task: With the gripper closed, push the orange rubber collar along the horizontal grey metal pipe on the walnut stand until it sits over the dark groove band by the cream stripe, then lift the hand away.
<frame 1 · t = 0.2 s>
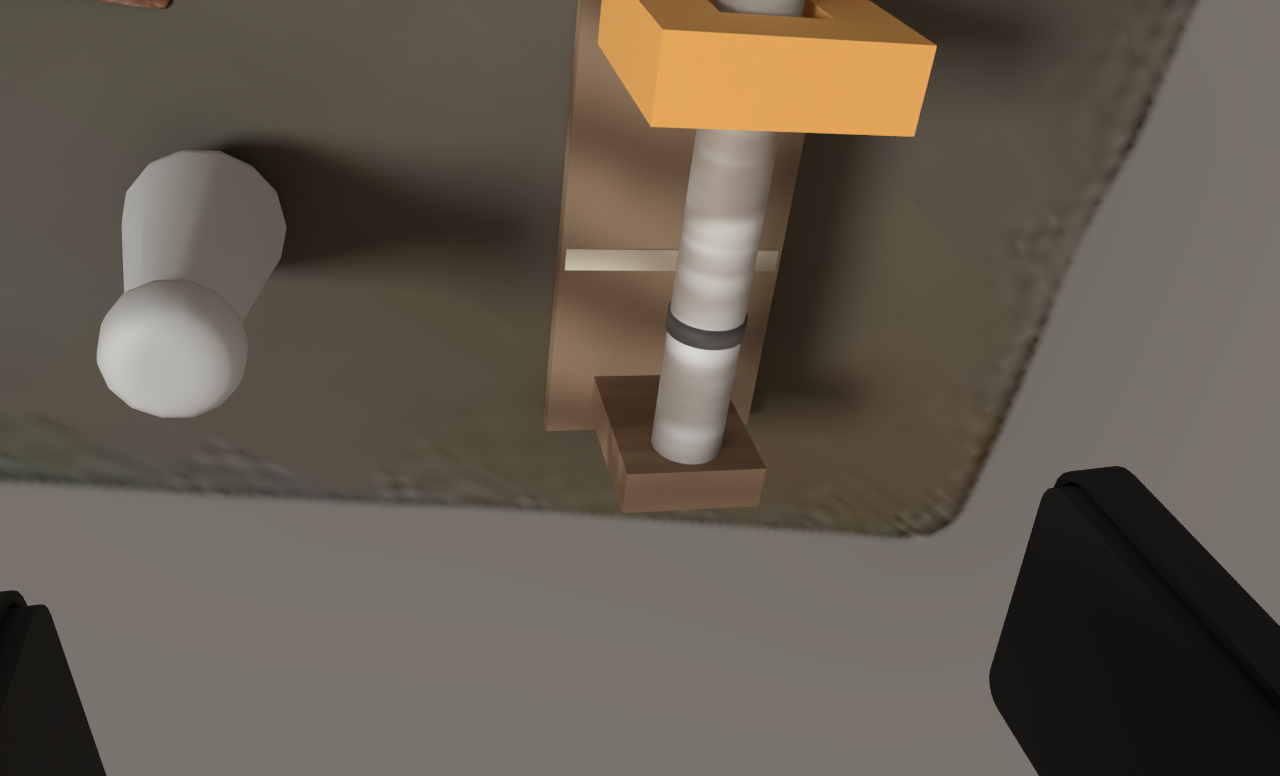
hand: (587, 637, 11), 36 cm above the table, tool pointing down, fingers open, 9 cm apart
salt shaker: (212, 197, 44), on the table
collar: (752, 44, 38), point 6 cm above the table, slide at 0.0 cm
pipe stand: (683, 142, 47), on the table
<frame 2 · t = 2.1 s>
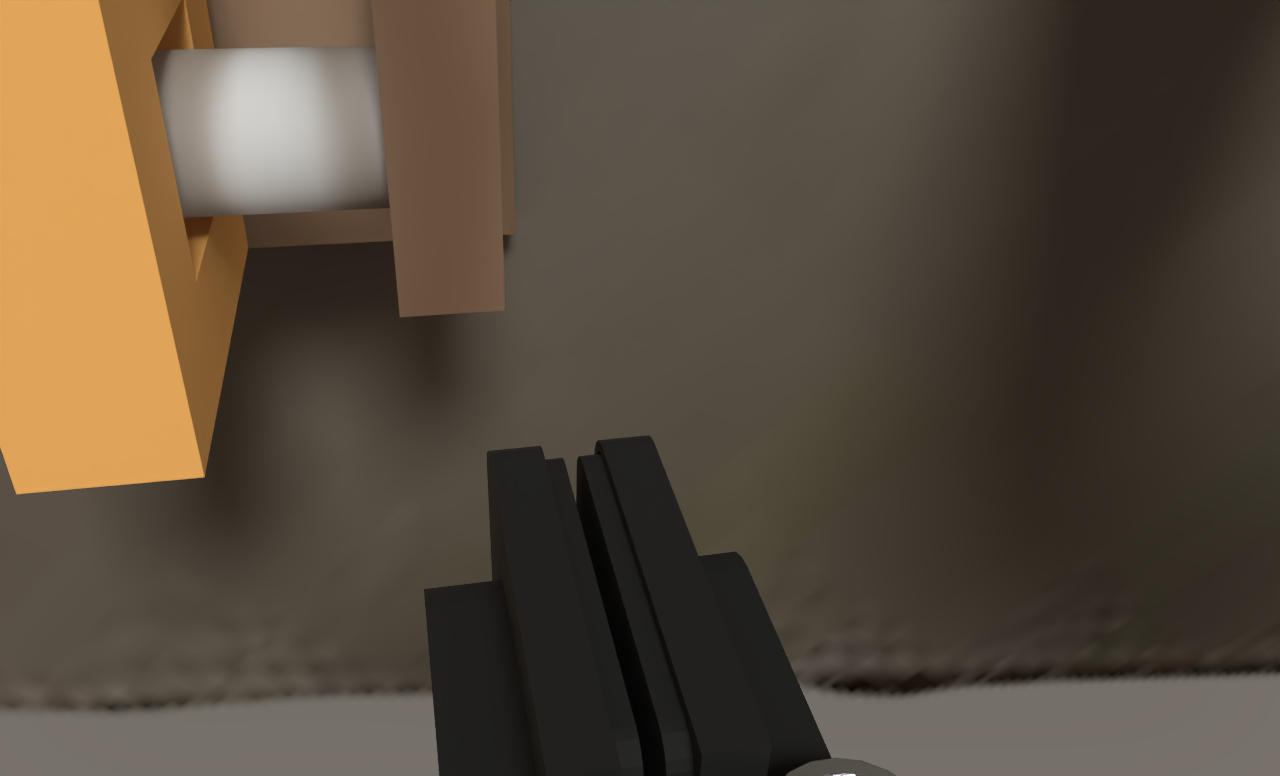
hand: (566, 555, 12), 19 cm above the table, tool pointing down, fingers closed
collar: (102, 137, 20), point 6 cm above the table, slide at 0.0 cm
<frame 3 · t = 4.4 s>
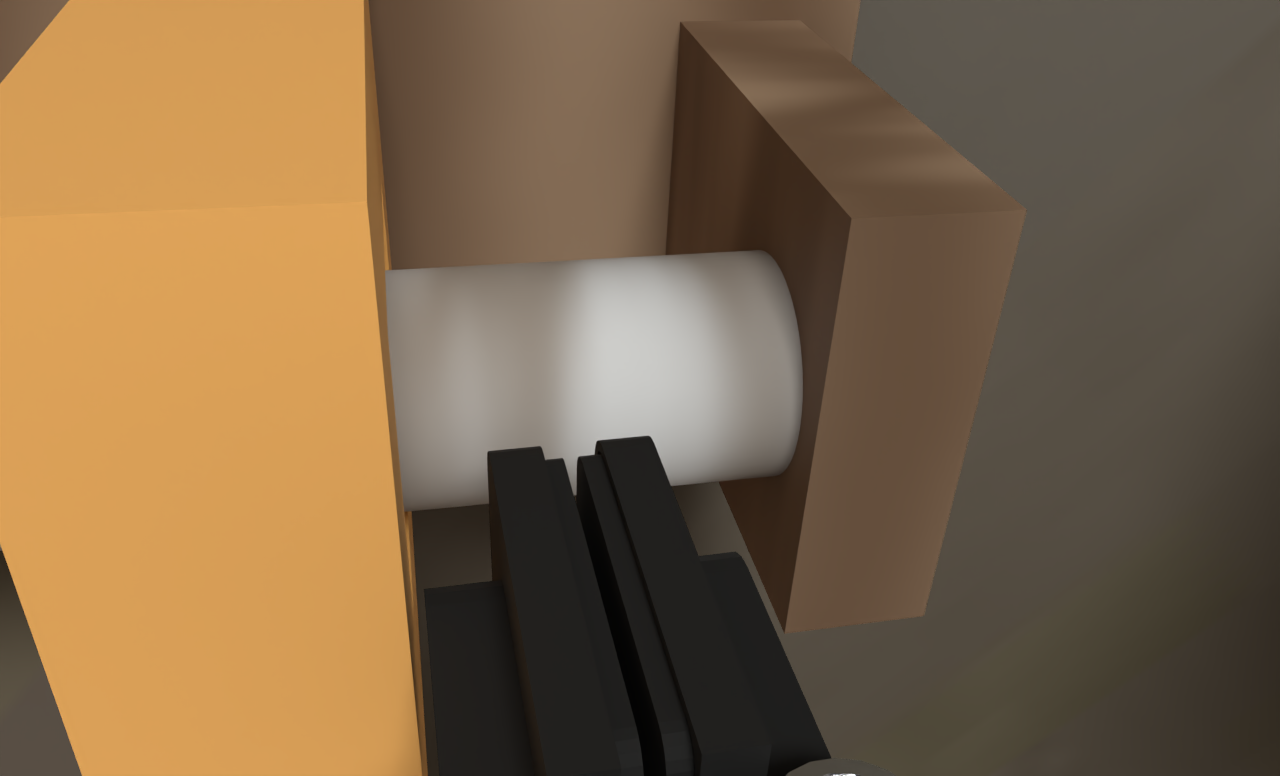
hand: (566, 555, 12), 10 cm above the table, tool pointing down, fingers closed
collar: (271, 400, 14), point 7 cm above the table, slide at 1.3 cm, touching gripper
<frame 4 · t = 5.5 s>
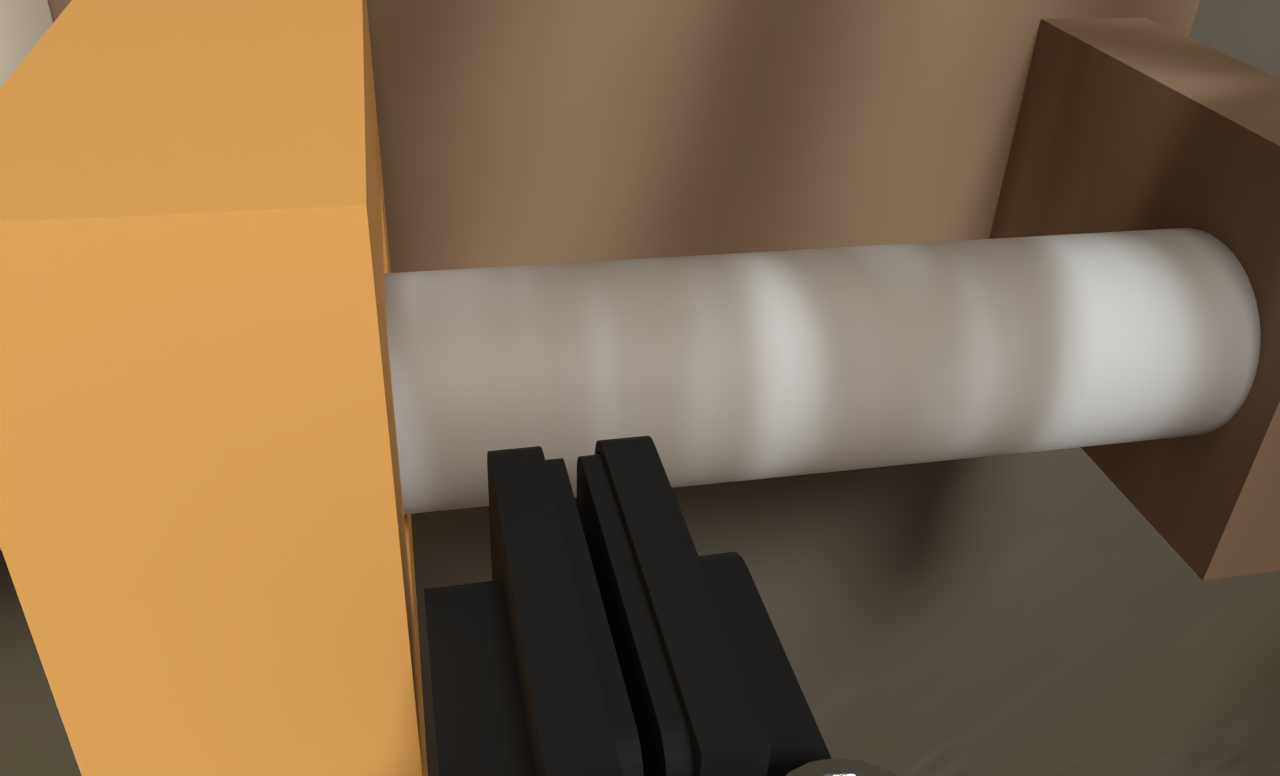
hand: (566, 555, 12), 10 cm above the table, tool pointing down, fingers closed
collar: (270, 403, 14), point 7 cm above the table, slide at 7.7 cm, touching gripper
pipe stand: (393, 188, 19), on the table
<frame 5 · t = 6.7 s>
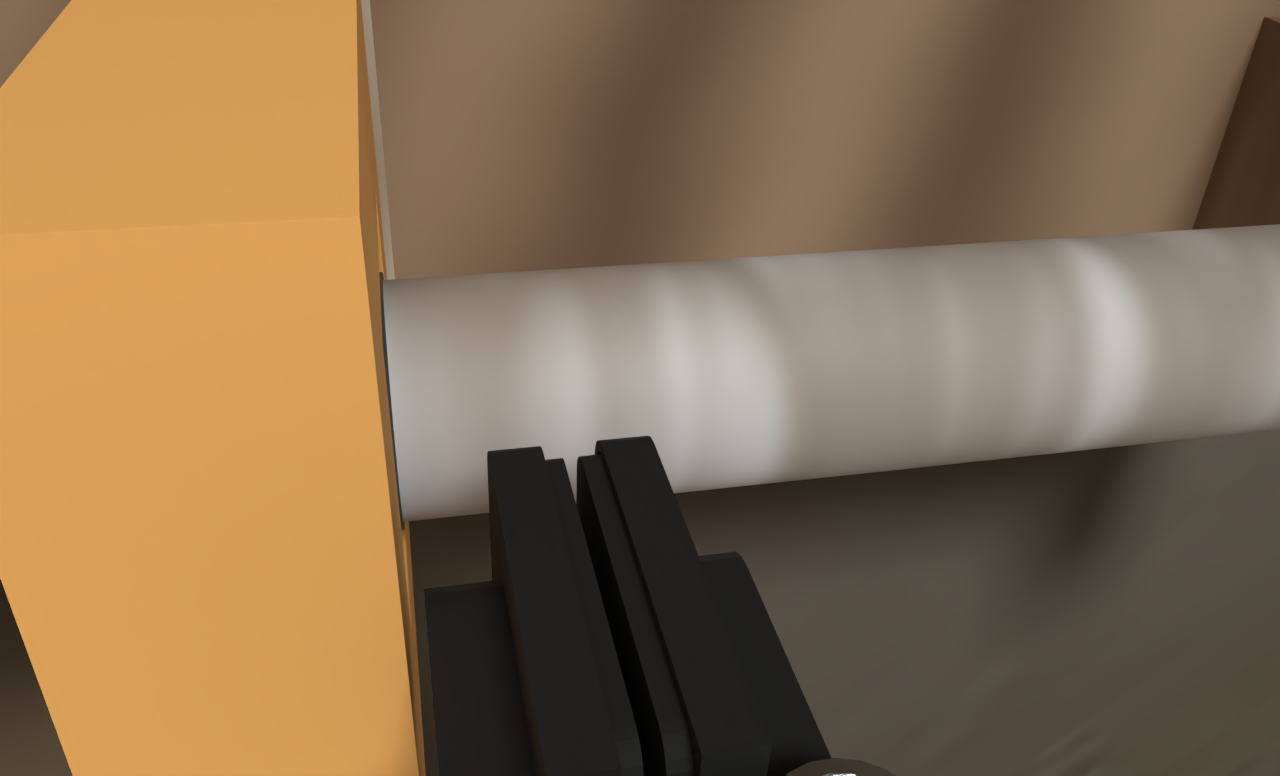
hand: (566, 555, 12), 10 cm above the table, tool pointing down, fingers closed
collar: (266, 411, 13), point 6 cm above the table, slide at 12.1 cm, touching gripper
pipe stand: (642, 181, 20), on the table
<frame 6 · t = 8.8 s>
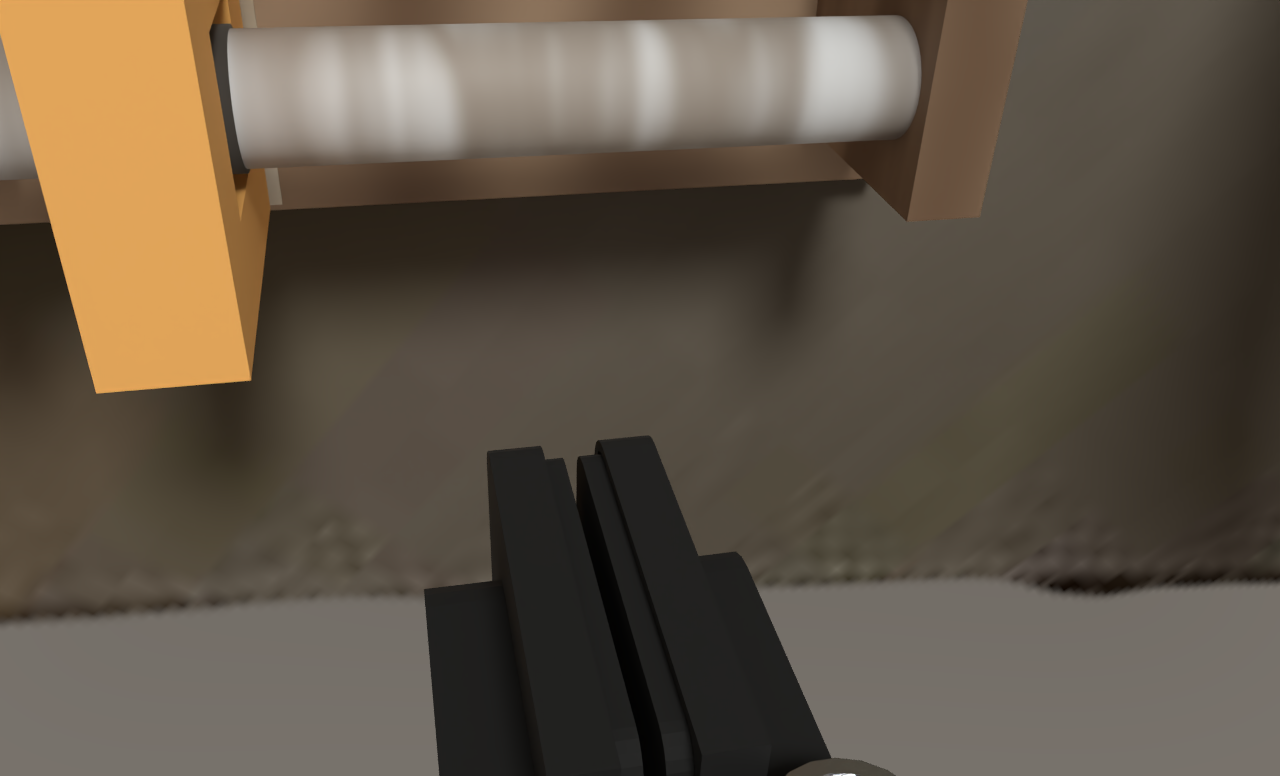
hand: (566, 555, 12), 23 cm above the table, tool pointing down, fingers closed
collar: (160, 102, 24), point 6 cm above the table, slide at 12.2 cm
pipe stand: (429, 18, 31), on the table
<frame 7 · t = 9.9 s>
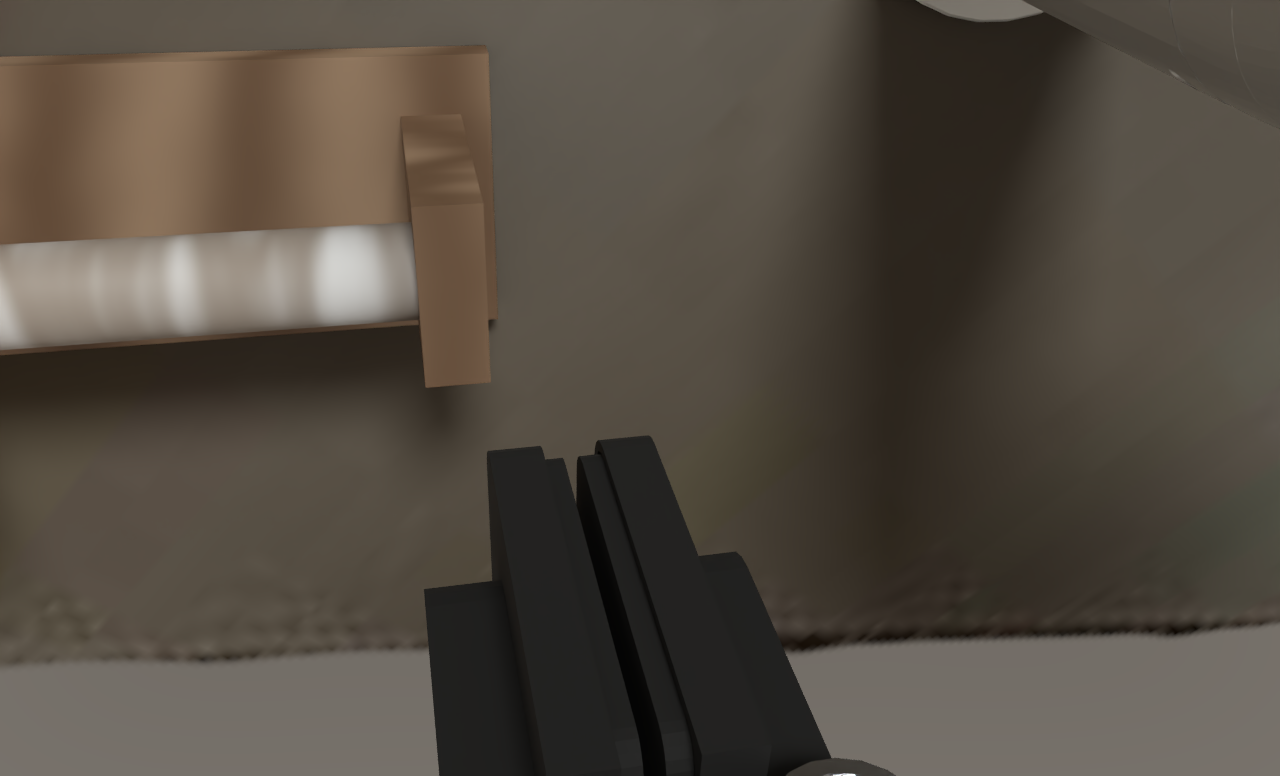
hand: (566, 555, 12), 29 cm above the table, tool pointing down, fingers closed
pipe stand: (72, 205, 37), on the table
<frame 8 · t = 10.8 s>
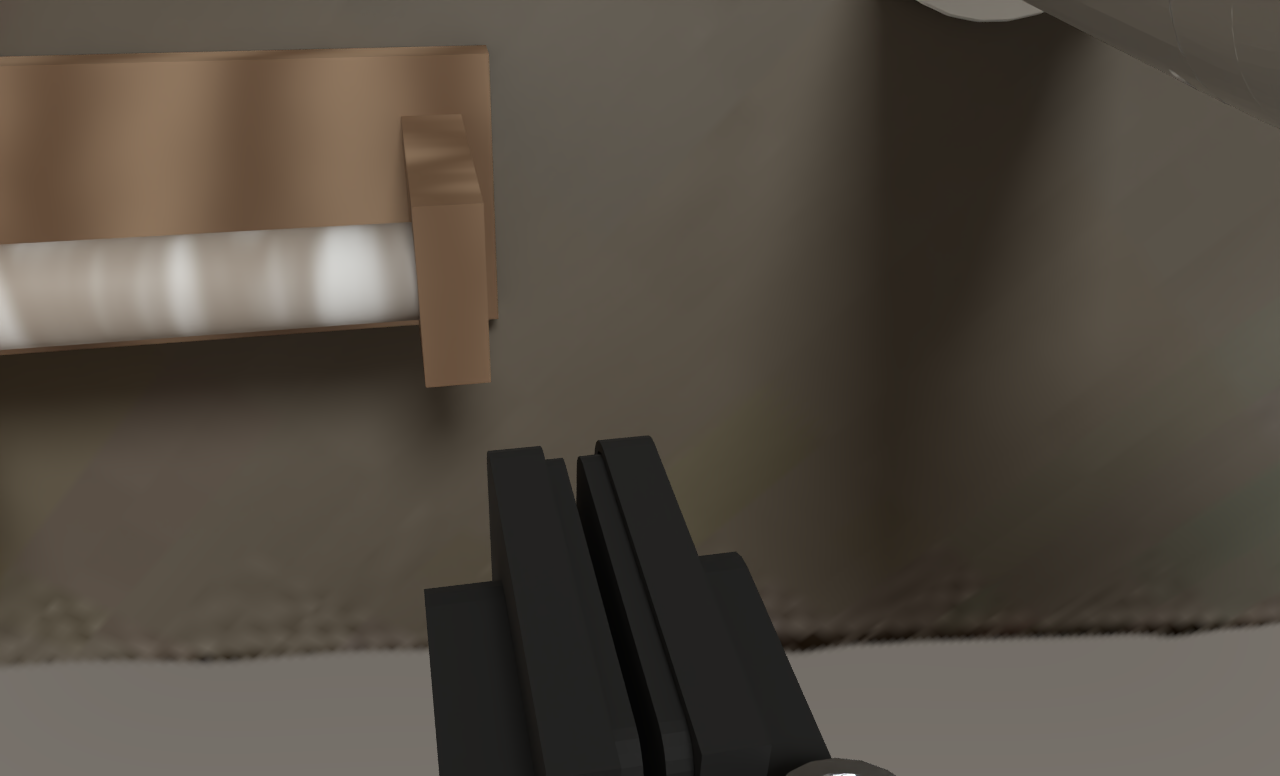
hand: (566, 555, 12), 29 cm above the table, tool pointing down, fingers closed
pipe stand: (72, 204, 37), on the table
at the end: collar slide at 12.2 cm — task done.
